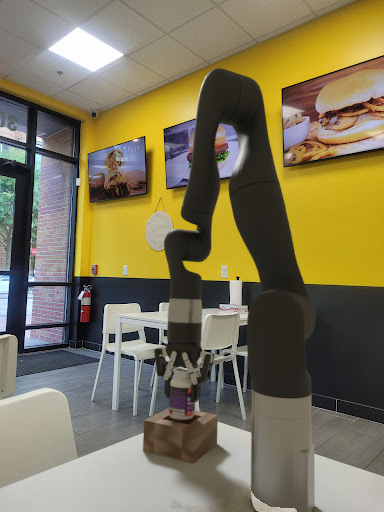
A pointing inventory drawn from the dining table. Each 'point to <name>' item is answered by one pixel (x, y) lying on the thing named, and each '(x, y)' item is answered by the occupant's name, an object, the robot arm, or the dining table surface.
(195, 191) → the robot arm
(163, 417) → the socket block
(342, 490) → the dining table surface
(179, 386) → the pill bottle
